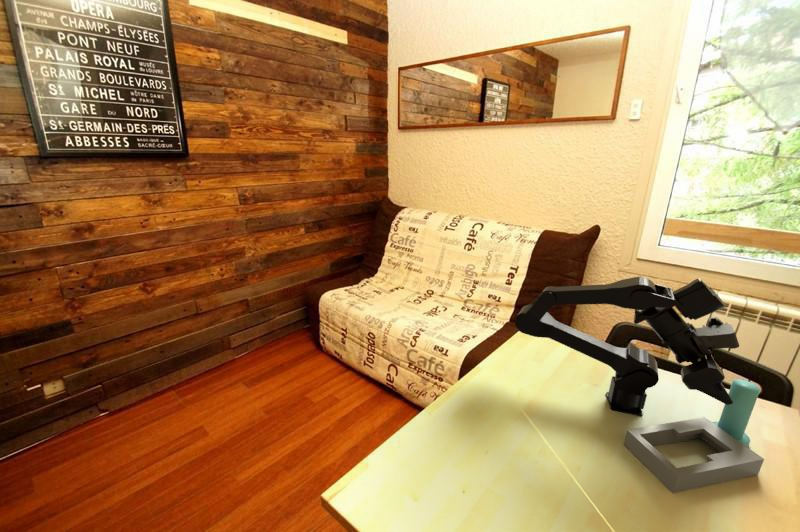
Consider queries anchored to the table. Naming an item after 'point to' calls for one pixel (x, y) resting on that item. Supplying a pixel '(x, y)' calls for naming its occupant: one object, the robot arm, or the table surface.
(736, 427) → the peg
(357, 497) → the table surface
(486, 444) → the table surface
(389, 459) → the table surface
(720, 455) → the keyhole plate
